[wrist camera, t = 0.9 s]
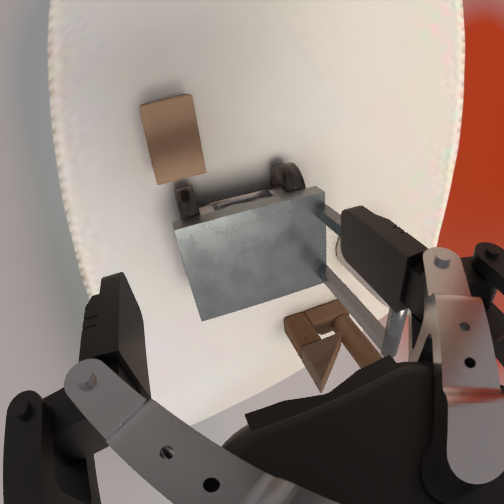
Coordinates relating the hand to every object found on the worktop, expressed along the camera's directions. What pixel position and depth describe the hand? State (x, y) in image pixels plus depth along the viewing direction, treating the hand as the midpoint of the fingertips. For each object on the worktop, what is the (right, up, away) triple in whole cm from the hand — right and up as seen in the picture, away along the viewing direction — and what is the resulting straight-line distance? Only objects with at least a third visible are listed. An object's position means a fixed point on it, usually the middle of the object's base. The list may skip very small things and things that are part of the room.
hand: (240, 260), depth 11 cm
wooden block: (+11, -11, +43) cm, 46 cm away
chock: (-9, +14, +22) cm, 28 cm away
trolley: (-1, +3, +31) cm, 31 cm away
